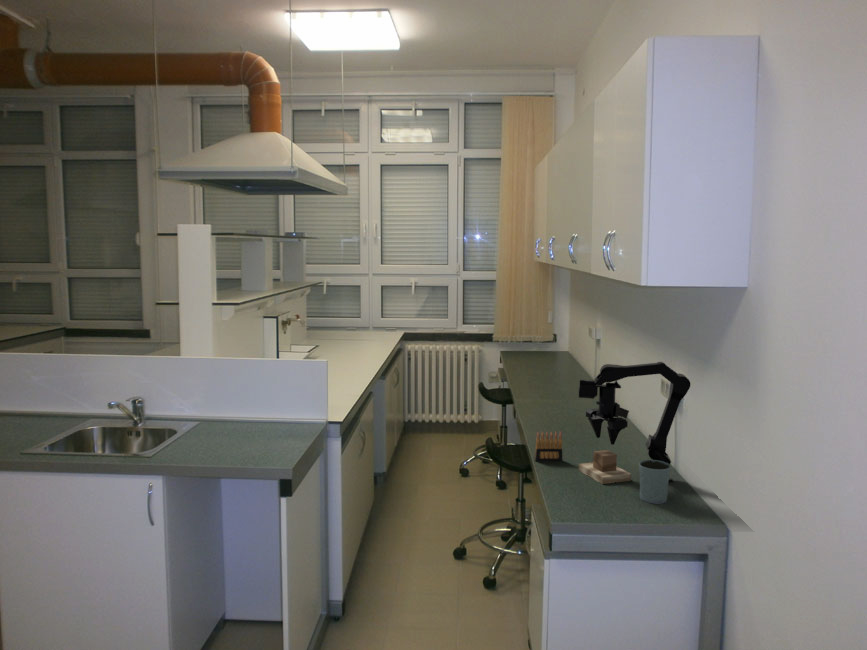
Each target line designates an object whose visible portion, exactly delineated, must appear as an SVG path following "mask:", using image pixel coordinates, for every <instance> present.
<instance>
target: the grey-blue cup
mask: <svg viewBox="0 0 867 650" xmlns="http://www.w3.org/2000/svg"><path fill="white" fill-rule="evenodd" d="M671 468H672V467H671V463H670V464H668V463H666V462H663V461H658V460H652V459H643V460H640V461H639V462H638V471H639V475H638V476H639V498H640V500H641V501H643V502H645V503H649V504H655V505H656V504H658V505H659V504H664V503H667V501H668V500H667V499H668V489H669V482H670V481H669V478H671V477H670V476H671Z"/></svg>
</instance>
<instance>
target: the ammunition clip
mask: <svg viewBox="0 0 867 650" xmlns="http://www.w3.org/2000/svg"><path fill="white" fill-rule="evenodd" d="M535 438H536V440H535V454H534V461H535V462H541V463H542V462H544V463H546V462H549V463H550V462H563V434H562V431H561V430H559V434H558V432H557V431H554V435H553V431H550V433H549V432H548V431H546V432H545V434H544V430H541V434H540V430H539V431H538V430H537V433H536V437H535Z"/></svg>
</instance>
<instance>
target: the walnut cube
mask: <svg viewBox="0 0 867 650" xmlns="http://www.w3.org/2000/svg"><path fill="white" fill-rule="evenodd" d="M617 459H618V454H617V453H615V452H612V451H610V450H608V449H606V450H605V449H603V450H595V451H594V450H593V457H592V462H593V467H594V468H595V469H597V470H599V471H601V472H608V471H616V466H617V461H618V460H617Z"/></svg>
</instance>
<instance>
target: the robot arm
mask: <svg viewBox="0 0 867 650" xmlns="http://www.w3.org/2000/svg"><path fill="white" fill-rule="evenodd" d="M651 375H661V376H662V377H664V378H665V380H667V381H668V382H669V390H668V391H669V392H668V393H669V394H668V398H667V401H666V403H665V407H664V409H663V412H662V415H661V417H660V421H659V422H658V426H657V427H656V431H655V432H654V434H653V435H651V434H649V435H648V438H647V441H646V443H645V448H646V452H647V454H648V456H649V458H650V460H658V461H663V462H666V463H668V464H670V465H671V463H672V461H671V459H670V456H669V454H668V452H666V450H667V442H668V436H669V433H670V430H671V428H672V425H673V422H674V419H675V417H676V415H677V412H678V409H679V406H680V403H681V401H683V399H684V398H685V397H686V395H687V394H688V392H689V390H690V388H691V381H690V379H689V378H688V377H687V376H686V375H685V374H683V373H677V372H676V371H675V370H673V369H672V368H671V367H669V366H668V365H667V364H666V363H665V362H663V361H658V362H651V363H642V364H641V363H639V364H630V365H622V364H621V365H619V364H610V363H608V364H607V363H605V364H603V365H602V366H601V367H600V369H599V373H598V375H597V376H596V377H595V378H594V379H593V380H591V379H589V380H588V379H581V378H580V379H579V385H578V399H592V400H594V399H595V398H596V397H597V396H598V400H597V401H596V403H595V404H596V405H598V408H588V409H587V410H586V412H585V417H586V418H587V420H588V422H589V423H590V425H591V427H592V430H593V432H594V435H595V437H596V438H597V439H600V438H601V434H602V433H601V432H602V426H603V422H604V421H606V422H607V426H606V427H607V434H608V437H609V443H610V445H611V446H612V445H615V443H616V441H617V438H618V436H619V434H620V432H621V431H622V430H625V429H626V428H628V427H629V426H628V424H629V421H628V420H627V418H628V416H629V412H630V410H628V409H626V408H623V407H621V405H620V403H618V402H616V389H622V385H621V384H620V383H619V382H618V381H620V380H622V379H625V378H631V377H641V376H642V377H643V376H651ZM598 388H599V389H598ZM598 391H599V393H598ZM673 479H674V478H671V477H669V481H668V482H673V481H674V480H673Z"/></svg>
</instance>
